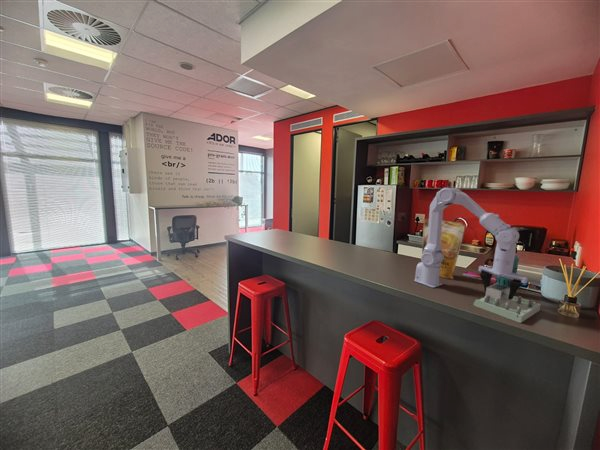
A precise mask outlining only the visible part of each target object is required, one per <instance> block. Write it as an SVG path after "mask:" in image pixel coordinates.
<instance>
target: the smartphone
mask: <svg viewBox="0 0 600 450" xmlns="http://www.w3.org/2000/svg"><path fill="white" fill-rule="evenodd" d="M462 275H463V276H464V277H465V276H466V277H469V278H472V279H476V280H479V281H482V278H481V276H480V273H476V272H472V271H465V272H463V273H462ZM496 279H497V278H496V277H495V278H494V277H493V276H492V277H491V281H490V284H493V285H494V284H495V283H496Z"/></svg>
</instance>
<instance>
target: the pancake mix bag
mask: <svg viewBox="0 0 600 450" xmlns="http://www.w3.org/2000/svg"><path fill="white" fill-rule="evenodd" d="M428 225H429V218H424V219H423V226H422V244H421V246H422V247H421V248H422V249H421V255H422V254H423V252H424V248H425V246H426V245H427V239H428ZM465 232H466V225H465V224H464V223H463V222H459V221H449V220H444V219H442V231H441V246H442V252H443V254H444V259H443V261H442V262H440V264H441V267H440V276H439V278H441V279H450V280H454V275H453V274H454V271H455V268H456V264H457V260H458V257H459V254H460V251H461V247H462V245H463V239H464V234H465Z"/></svg>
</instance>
